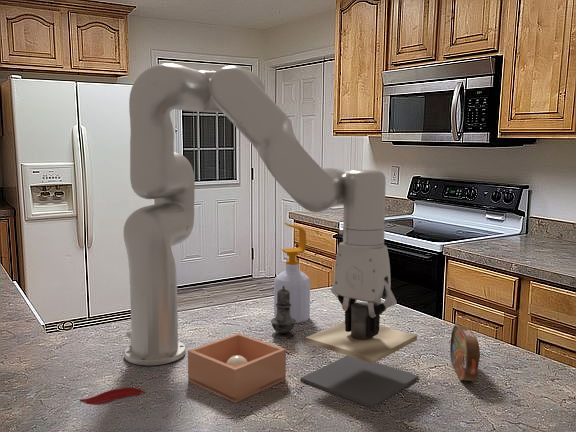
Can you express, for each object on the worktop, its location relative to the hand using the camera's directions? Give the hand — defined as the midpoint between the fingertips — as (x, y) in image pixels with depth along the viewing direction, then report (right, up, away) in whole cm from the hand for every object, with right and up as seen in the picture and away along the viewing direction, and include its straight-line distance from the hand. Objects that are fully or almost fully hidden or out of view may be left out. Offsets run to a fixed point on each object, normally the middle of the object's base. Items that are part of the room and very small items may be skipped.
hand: (361, 332), depth 105 cm
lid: (0, -2, 0) cm, 2 cm away
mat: (0, -9, +1) cm, 9 cm away
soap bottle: (-13, -5, +38) cm, 40 cm away
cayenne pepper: (-45, -11, -7) cm, 46 cm away
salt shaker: (-15, -6, +25) cm, 30 cm away
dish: (-23, -9, +1) cm, 25 cm away
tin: (+21, -9, +5) cm, 23 cm away
